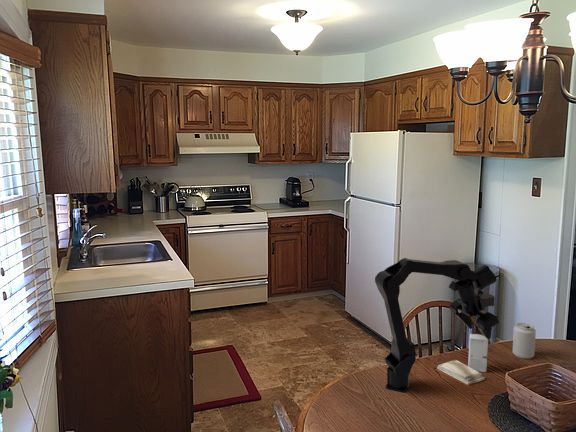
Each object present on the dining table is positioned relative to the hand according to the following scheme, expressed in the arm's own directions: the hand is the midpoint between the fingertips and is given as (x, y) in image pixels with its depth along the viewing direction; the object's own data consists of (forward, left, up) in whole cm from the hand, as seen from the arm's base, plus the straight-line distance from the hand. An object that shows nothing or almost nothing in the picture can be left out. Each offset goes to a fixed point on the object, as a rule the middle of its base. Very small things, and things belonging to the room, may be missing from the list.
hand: (479, 333), depth 166 cm
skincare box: (-1, +4, -15) cm, 16 cm away
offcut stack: (-6, -2, -15) cm, 16 cm away
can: (+13, +23, -15) cm, 31 cm away
